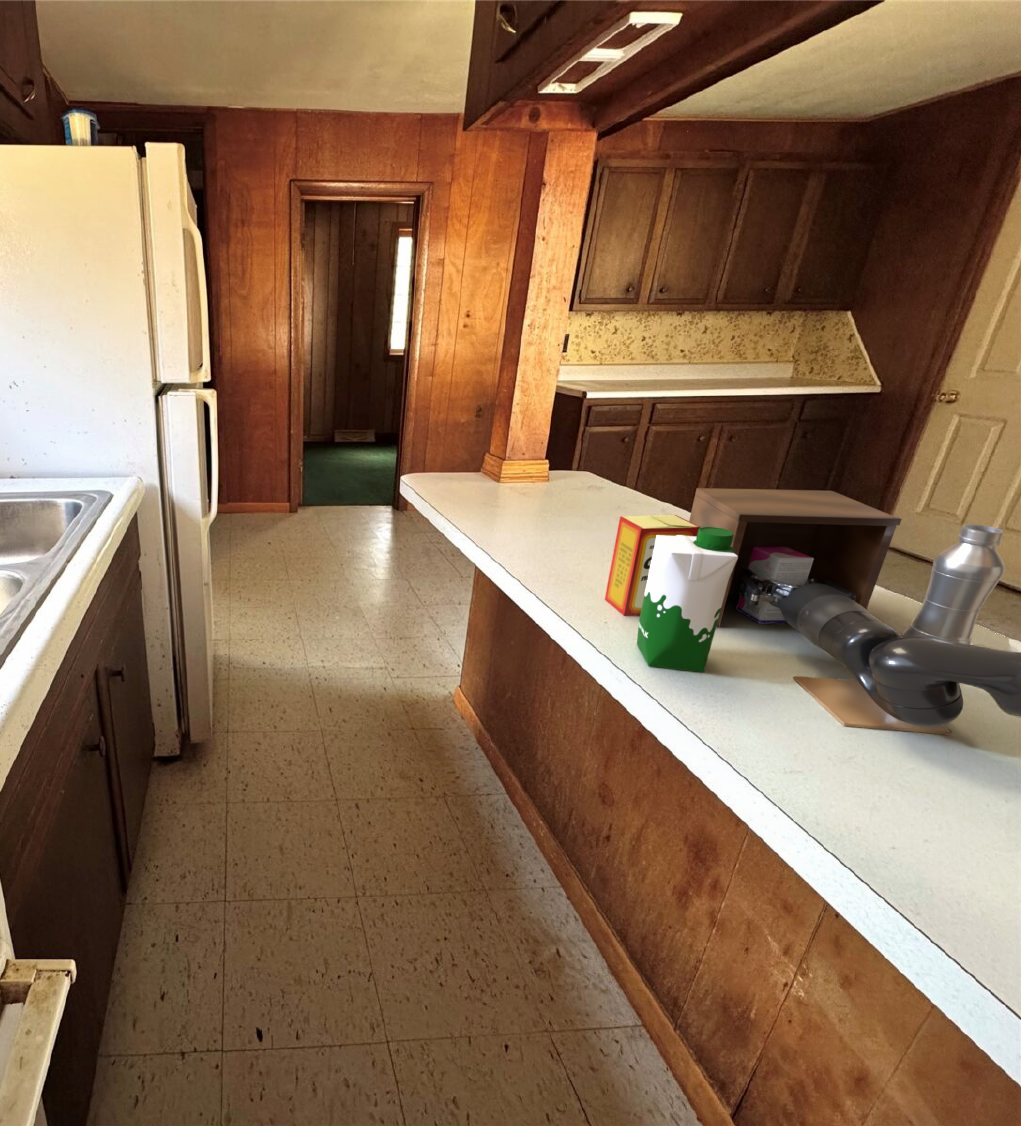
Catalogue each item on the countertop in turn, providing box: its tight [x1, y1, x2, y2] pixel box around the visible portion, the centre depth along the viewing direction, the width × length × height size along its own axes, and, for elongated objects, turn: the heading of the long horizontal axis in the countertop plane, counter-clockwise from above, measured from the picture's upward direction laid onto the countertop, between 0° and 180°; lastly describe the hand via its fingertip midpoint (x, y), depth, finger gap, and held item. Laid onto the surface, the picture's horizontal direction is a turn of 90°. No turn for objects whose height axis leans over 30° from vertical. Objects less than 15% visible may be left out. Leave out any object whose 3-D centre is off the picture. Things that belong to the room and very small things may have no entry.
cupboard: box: [688, 487, 903, 628], centre depth 102 cm, size 16×21×19 cm
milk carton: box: [636, 527, 738, 673], centre depth 88 cm, size 9×9×20 cm
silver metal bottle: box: [901, 523, 1006, 645], centre depth 86 cm, size 6×7×20 cm
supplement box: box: [735, 547, 814, 625], centre depth 101 cm, size 6×6×12 cm
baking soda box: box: [604, 514, 701, 617], centre depth 105 cm, size 10×6×16 cm
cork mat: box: [792, 675, 952, 736], centre depth 80 cm, size 11×11×1 cm
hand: (767, 574), depth 103 cm, fingers closed on supplement box, 6 cm apart
